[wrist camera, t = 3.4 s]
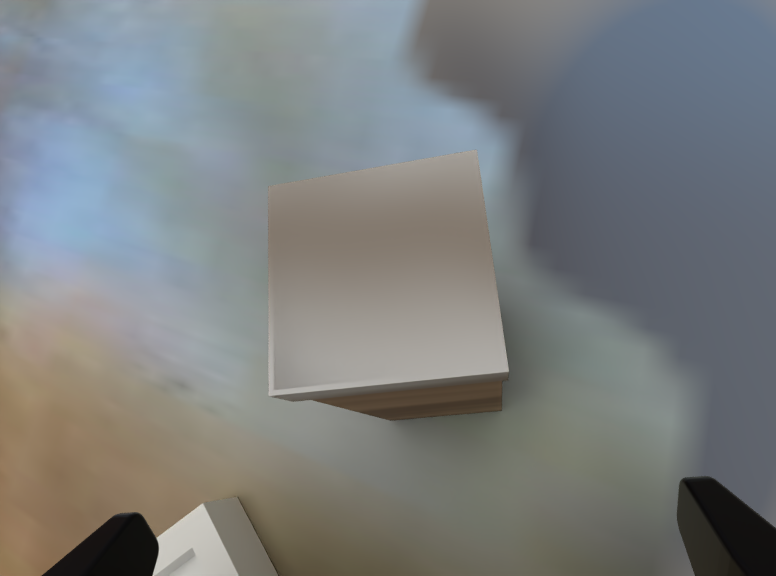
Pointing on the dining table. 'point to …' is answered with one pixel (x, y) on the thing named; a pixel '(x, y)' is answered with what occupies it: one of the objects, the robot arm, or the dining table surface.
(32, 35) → the dining table surface
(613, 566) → the dining table surface
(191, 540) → the tray
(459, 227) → the brown rectangular block
